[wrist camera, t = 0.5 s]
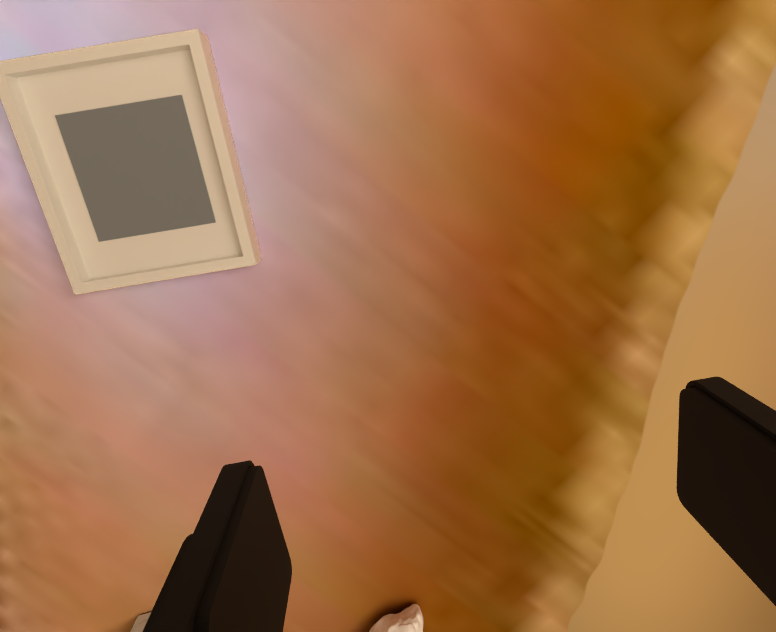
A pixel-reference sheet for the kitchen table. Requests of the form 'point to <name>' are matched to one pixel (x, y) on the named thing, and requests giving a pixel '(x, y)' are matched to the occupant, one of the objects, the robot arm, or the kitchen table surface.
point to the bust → (401, 621)
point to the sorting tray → (132, 159)
